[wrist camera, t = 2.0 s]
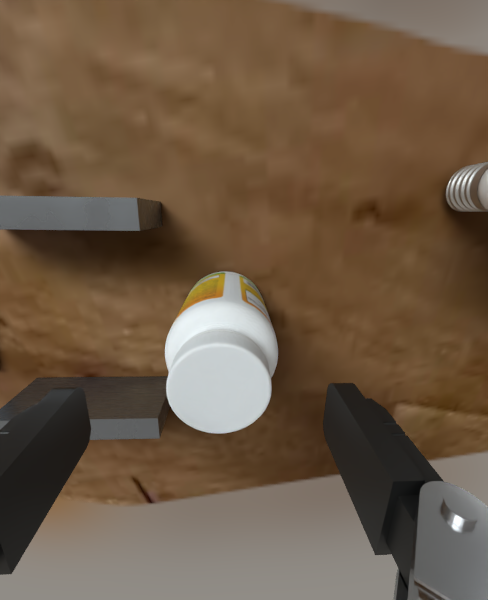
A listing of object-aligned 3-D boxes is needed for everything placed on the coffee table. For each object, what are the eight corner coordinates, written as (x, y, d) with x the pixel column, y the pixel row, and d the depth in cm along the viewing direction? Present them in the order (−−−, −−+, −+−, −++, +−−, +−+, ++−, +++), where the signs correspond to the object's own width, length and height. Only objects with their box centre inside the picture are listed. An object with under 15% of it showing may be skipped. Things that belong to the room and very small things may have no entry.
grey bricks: (160, 201, 17) (136, 197, 13) (174, 393, 21) (159, 438, 17) (-6, 199, 17) (-87, 194, 13) (41, 395, 21) (-8, 441, 17)
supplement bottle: (181, 335, 20) (138, 440, 11) (193, 262, 19) (154, 312, 9) (254, 347, 21) (271, 458, 11) (271, 278, 19) (308, 340, 10)
